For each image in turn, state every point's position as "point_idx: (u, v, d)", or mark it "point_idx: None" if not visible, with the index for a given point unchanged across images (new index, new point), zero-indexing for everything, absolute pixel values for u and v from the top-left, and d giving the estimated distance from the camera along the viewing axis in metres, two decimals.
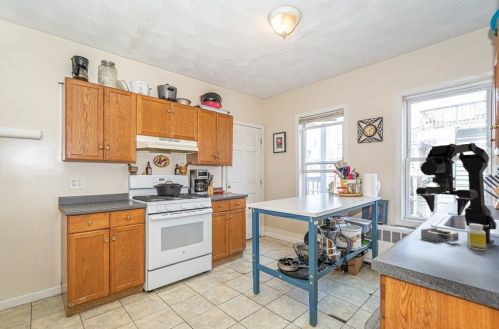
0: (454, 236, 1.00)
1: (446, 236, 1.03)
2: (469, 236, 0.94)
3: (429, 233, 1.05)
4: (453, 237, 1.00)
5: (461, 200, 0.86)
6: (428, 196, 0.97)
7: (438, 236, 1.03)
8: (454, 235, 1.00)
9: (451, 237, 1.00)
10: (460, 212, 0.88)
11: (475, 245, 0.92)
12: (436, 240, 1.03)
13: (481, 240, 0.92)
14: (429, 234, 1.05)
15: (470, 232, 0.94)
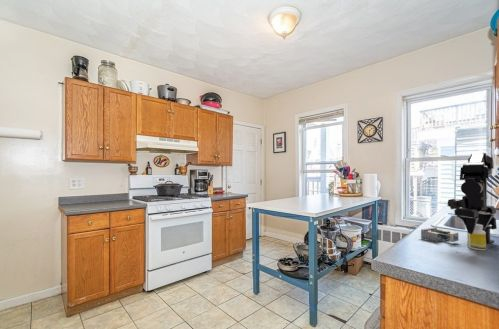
0: (454, 236, 1.00)
1: (446, 236, 1.03)
2: (469, 236, 0.94)
3: (429, 233, 1.05)
4: (453, 237, 1.00)
5: None
6: None
7: (438, 236, 1.03)
8: (454, 235, 1.00)
9: (451, 237, 1.00)
10: (469, 230, 0.92)
11: (475, 245, 0.92)
12: (436, 240, 1.03)
13: (481, 240, 0.92)
14: (429, 234, 1.05)
15: None
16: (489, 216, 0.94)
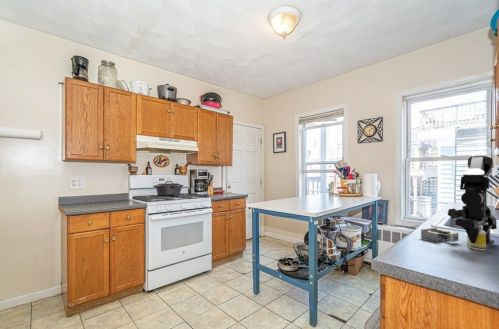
0: (454, 236, 1.00)
1: (446, 236, 1.03)
2: None
3: (429, 233, 1.05)
4: (453, 237, 1.00)
5: None
6: None
7: (438, 236, 1.03)
8: (454, 235, 1.00)
9: (451, 237, 1.00)
10: (471, 240, 0.93)
11: (475, 245, 0.92)
12: (436, 240, 1.03)
13: (481, 240, 0.92)
14: (429, 234, 1.05)
15: None
16: (487, 227, 0.93)
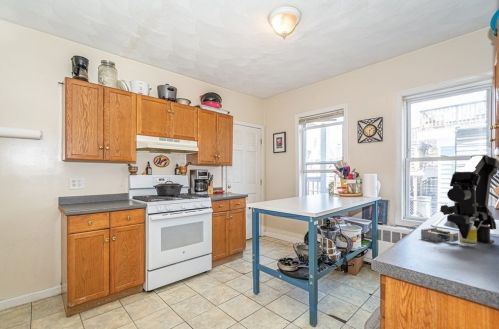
0: (454, 236, 1.00)
1: (446, 236, 1.03)
2: None
3: (429, 233, 1.05)
4: (453, 237, 1.00)
5: None
6: None
7: (438, 236, 1.03)
8: (454, 235, 1.00)
9: (451, 237, 1.00)
10: (463, 235, 0.95)
11: (466, 240, 0.95)
12: (436, 240, 1.03)
13: (472, 235, 0.94)
14: (429, 234, 1.05)
15: None
16: (478, 222, 0.96)
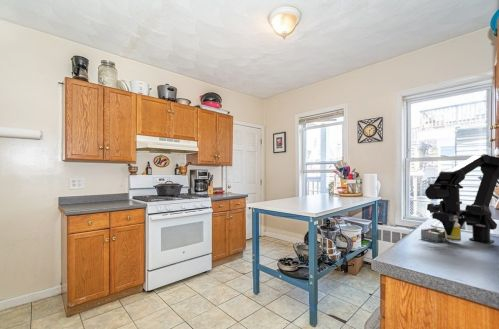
0: (444, 234, 1.04)
1: None
2: None
3: (429, 233, 1.05)
4: (443, 235, 1.03)
5: None
6: None
7: (438, 236, 1.03)
8: (444, 233, 1.04)
9: (441, 235, 1.04)
10: (447, 232, 1.00)
11: (451, 237, 1.00)
12: (436, 240, 1.03)
13: (456, 232, 0.99)
14: (429, 234, 1.05)
15: None
16: (462, 220, 1.01)
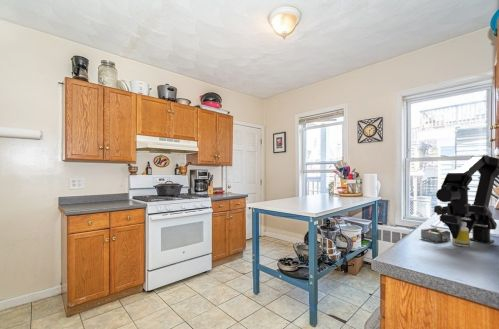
0: (444, 234, 1.04)
1: None
2: None
3: (429, 233, 1.05)
4: (442, 235, 1.03)
5: None
6: (461, 220, 1.02)
7: (438, 236, 1.03)
8: (443, 233, 1.04)
9: (441, 235, 1.04)
10: (453, 235, 0.97)
11: (459, 241, 0.97)
12: (436, 240, 1.03)
13: (464, 236, 0.96)
14: (429, 234, 1.05)
15: None
16: (472, 222, 0.99)
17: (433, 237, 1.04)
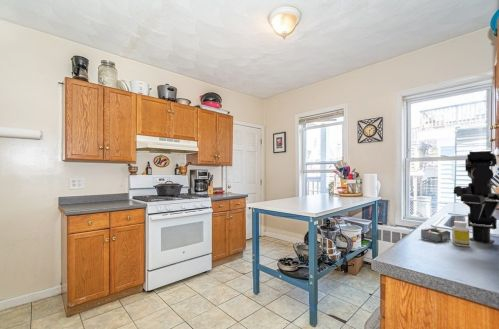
0: (444, 234, 1.04)
1: None
2: (454, 233, 0.99)
3: (429, 233, 1.05)
4: (442, 235, 1.03)
5: None
6: (483, 201, 0.98)
7: (438, 236, 1.03)
8: (443, 233, 1.04)
9: (441, 235, 1.04)
10: (475, 216, 0.93)
11: (459, 241, 0.97)
12: (436, 240, 1.03)
13: (464, 236, 0.96)
14: (429, 234, 1.05)
15: (454, 229, 0.99)
16: (495, 203, 0.95)
17: (433, 237, 1.04)
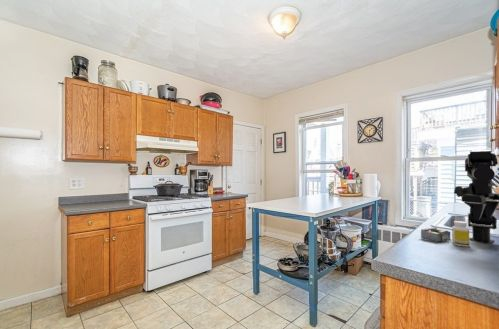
0: (444, 234, 1.04)
1: None
2: (454, 233, 0.99)
3: (429, 233, 1.05)
4: (442, 235, 1.03)
5: None
6: None
7: (438, 236, 1.03)
8: (443, 233, 1.04)
9: (441, 235, 1.04)
10: (476, 216, 0.93)
11: (459, 241, 0.97)
12: (436, 240, 1.03)
13: (464, 236, 0.96)
14: (429, 234, 1.05)
15: (454, 229, 0.99)
16: (496, 203, 0.95)
17: (433, 237, 1.04)
